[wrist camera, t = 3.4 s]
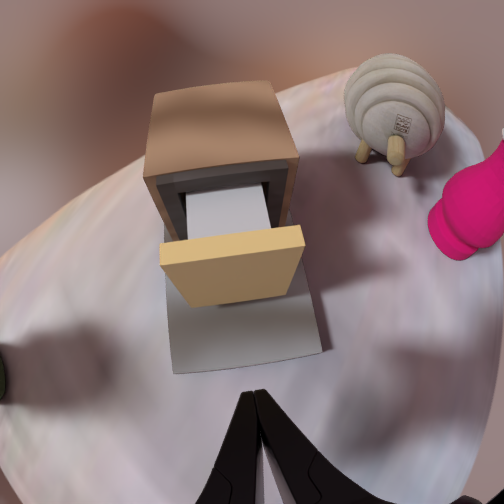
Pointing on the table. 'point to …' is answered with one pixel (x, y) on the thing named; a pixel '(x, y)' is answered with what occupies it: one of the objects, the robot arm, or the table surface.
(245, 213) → the tan drawer
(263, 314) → the wooden drawer box
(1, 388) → the character mug
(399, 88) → the toy sheep
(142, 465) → the table surface
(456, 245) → the pepper mill
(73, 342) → the table surface
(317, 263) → the table surface
